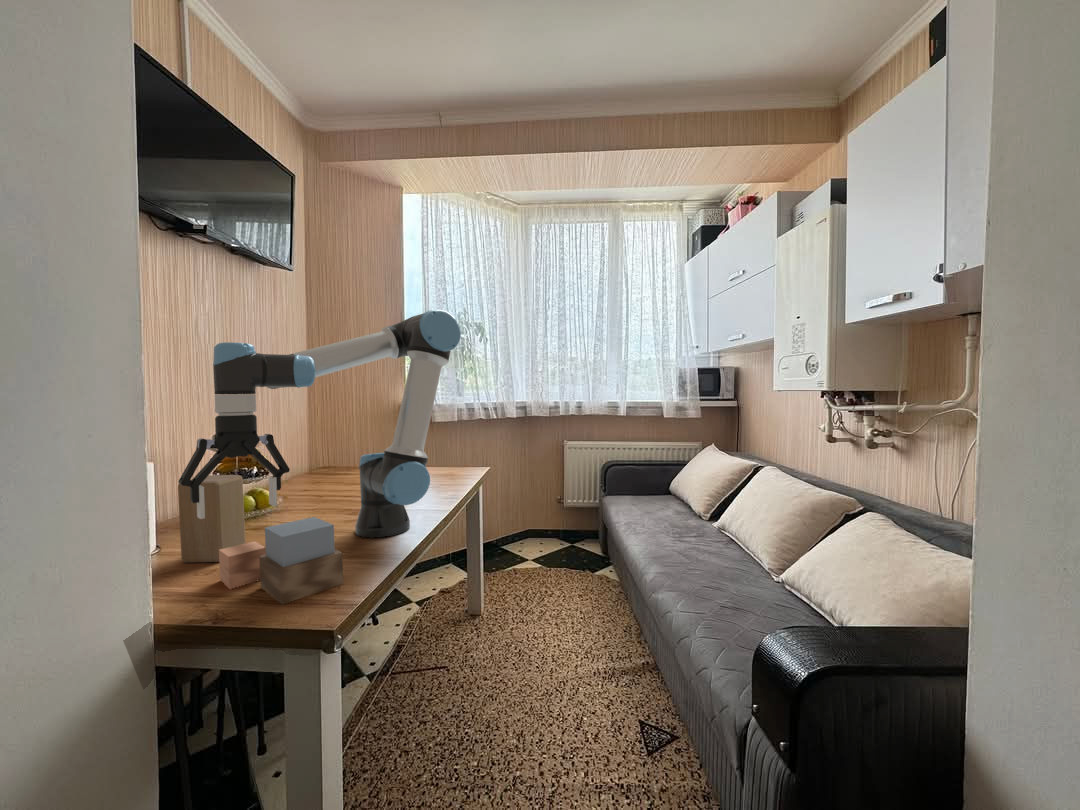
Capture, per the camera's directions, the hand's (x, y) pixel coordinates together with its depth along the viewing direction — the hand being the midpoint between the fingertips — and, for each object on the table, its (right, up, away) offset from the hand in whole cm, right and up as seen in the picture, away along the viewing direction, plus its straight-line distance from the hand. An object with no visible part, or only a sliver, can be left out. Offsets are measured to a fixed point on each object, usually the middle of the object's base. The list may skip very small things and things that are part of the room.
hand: (238, 511), depth 99 cm
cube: (+1, -15, +1) cm, 15 cm away
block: (-17, -15, +16) cm, 28 cm away
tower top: (+15, -8, -4) cm, 18 cm away
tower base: (+16, -15, -3) cm, 22 cm away
